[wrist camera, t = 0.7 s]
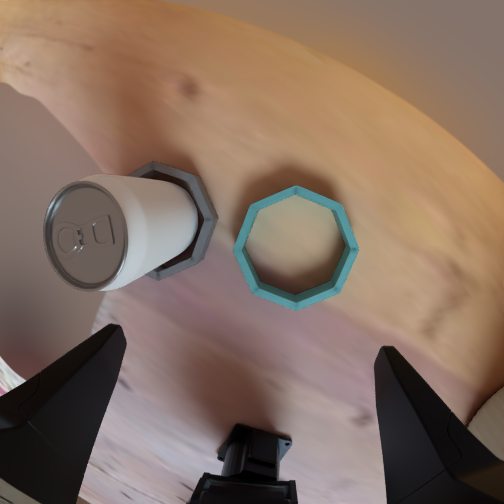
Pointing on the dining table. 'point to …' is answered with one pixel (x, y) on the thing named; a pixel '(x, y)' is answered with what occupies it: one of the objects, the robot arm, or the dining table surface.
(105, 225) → the can
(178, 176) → the socket
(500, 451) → the canister
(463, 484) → the robot arm
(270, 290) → the socket
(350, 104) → the dining table surface
